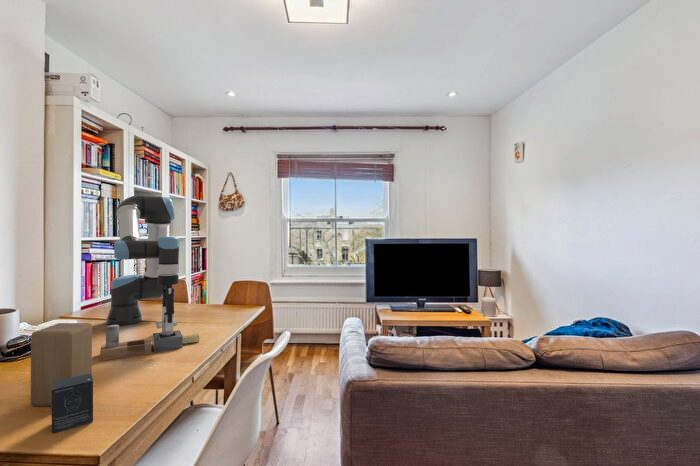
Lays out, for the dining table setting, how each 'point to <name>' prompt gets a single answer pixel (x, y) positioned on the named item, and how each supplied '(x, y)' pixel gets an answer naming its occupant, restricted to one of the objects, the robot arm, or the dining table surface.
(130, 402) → the dining table surface
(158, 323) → the pipe connector
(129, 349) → the rack
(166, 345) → the socket
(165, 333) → the grey metal bar
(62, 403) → the box
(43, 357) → the block
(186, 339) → the olive rectangular bar
